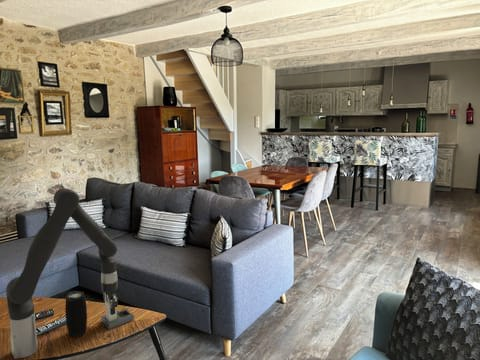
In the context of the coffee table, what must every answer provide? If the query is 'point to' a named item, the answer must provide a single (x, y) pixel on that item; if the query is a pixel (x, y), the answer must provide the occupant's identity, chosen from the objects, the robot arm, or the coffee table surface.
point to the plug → (108, 314)
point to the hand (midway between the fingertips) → (111, 312)
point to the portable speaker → (76, 313)
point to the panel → (118, 319)
